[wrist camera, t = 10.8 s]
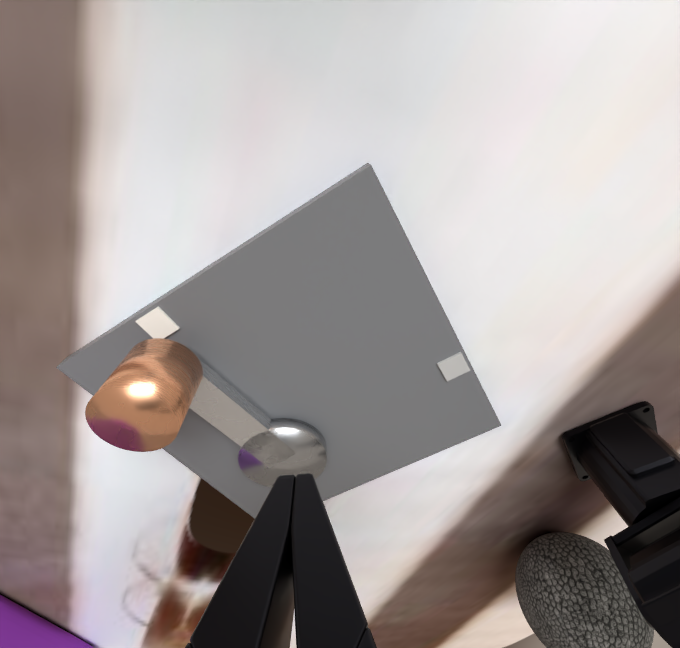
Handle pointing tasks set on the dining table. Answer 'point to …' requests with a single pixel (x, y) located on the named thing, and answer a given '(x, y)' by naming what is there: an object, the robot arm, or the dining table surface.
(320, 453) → the crank
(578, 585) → the decorative ball
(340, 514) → the dining table surface
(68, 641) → the shopping bag
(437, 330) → the mount plate
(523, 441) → the dining table surface
